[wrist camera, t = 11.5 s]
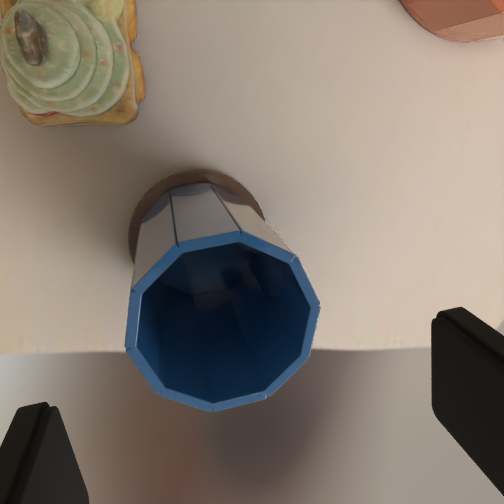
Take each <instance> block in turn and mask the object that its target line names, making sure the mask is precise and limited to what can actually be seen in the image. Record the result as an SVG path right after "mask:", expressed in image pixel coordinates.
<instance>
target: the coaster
mask: <svg viewBox="0 0 504 504" xmlns="http://www.w3.org/2000/svg"><path fill="white" fill-rule="evenodd" d="M207 182H208V183H209V184H210V183H212V184H214V185H216V186H219V187H221V188H224V189H226V190H228V191H230V192H231V193H233V194H235V195H237V196H239V197H241V198H243V199H244V200H245V201H246V202H247V203H248V204H249V206H250V207H251V208H252V209H253V210H254V211H255V212H256V213H257V214H258V215H259V216H260V217H261V218H262V219H263V221H264V222H265V219H264V216H263V213H262V211H261V209H260V207H259V205H258V203H257V201H256V200H255V199H254V197H253V196H252V195H251V194H250V193H249V191H248V190H247V189H246V188H244V187H243V186H242V185H241V184H240V183H238V182H237V181H235V180H233V179H232V178H230V177H228V176H226V175H223V174H220V173H217V172H213V171H207V170H190V171H184V172H180V173H176V174H174V175H171V176H168V177H167V178H165V179H163V180H161V181H159V182H158V183H157V184H155V185H154V186H153V187H152V188H151V189H150V190H149V191H148V192H146V194H145V195H144V196H143V197H142V199H141V200H140V202H139V203H138V205H137V207H136V209H135V211H134V213H133V216H132V219H131V223H130V228H129V249H130V254H131V257H132V261H133V263H135V256H136V249H137V243H138V236H139V230H140V223H141V220H142V217H143V216H144V215H145V214H146V213H147V212H148V210H149V209H150V208H151V206H152V205H153V204H154V203H155V202H156V201H157V200H158V199H159V198H160V197H161V196H163V195H164V194H165V193H166V192H167V191H168V190H169V191H170V189H173V188H177V187H180V186H183V185H188V184H195V183H207Z"/></svg>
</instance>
